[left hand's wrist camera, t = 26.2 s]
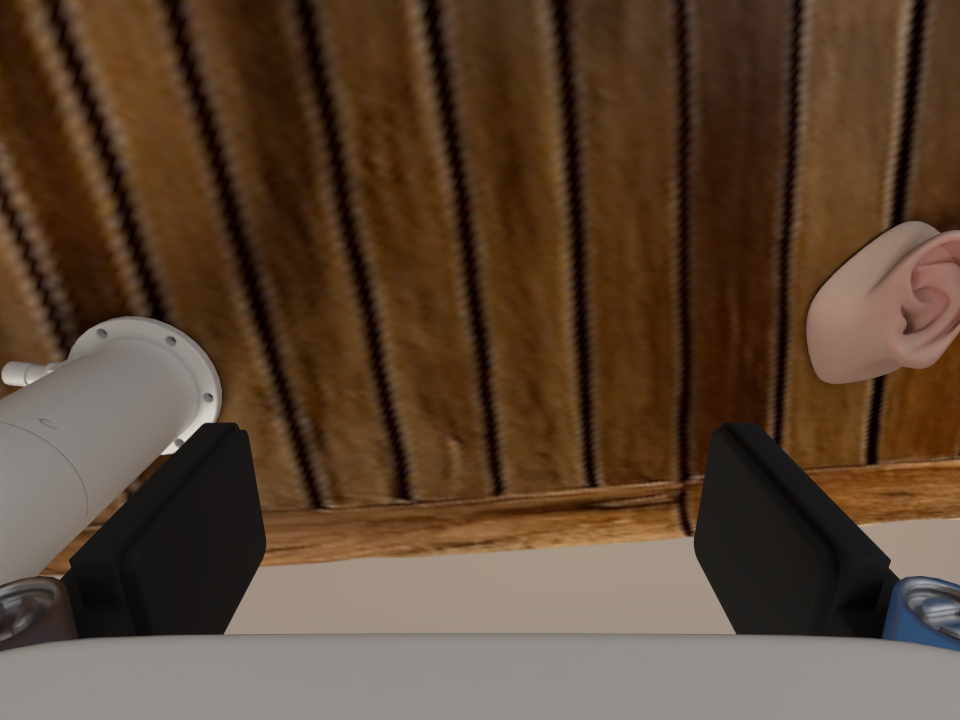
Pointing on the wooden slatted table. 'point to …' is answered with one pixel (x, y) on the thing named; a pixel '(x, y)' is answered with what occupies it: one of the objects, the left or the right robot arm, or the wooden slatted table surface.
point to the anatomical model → (888, 306)
